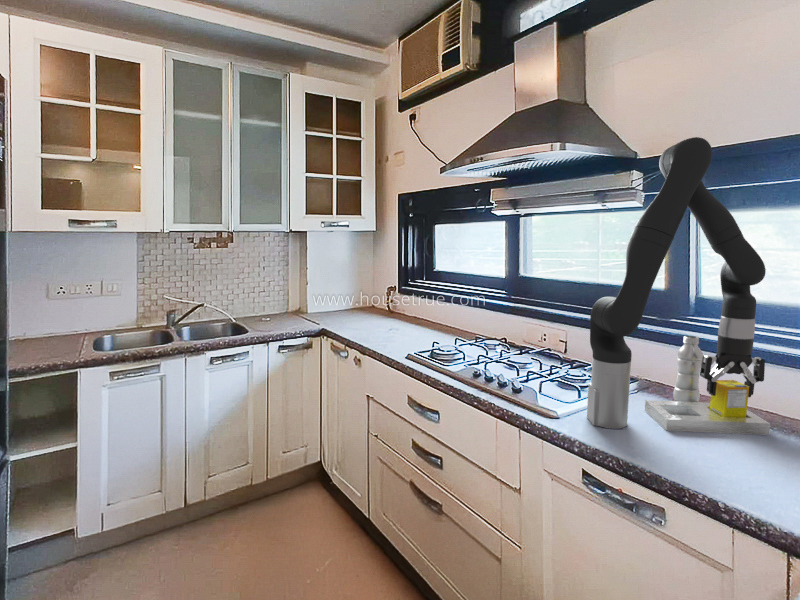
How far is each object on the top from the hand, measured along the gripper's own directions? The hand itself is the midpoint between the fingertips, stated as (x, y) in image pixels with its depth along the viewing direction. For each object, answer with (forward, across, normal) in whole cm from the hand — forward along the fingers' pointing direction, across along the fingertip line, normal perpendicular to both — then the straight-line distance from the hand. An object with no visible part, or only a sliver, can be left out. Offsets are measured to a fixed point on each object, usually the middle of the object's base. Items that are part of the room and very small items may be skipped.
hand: (729, 395), depth 124 cm
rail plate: (+8, -6, 0) cm, 10 cm away
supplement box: (+8, 0, 0) cm, 8 cm away
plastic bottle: (+8, -4, +14) cm, 17 cm away
